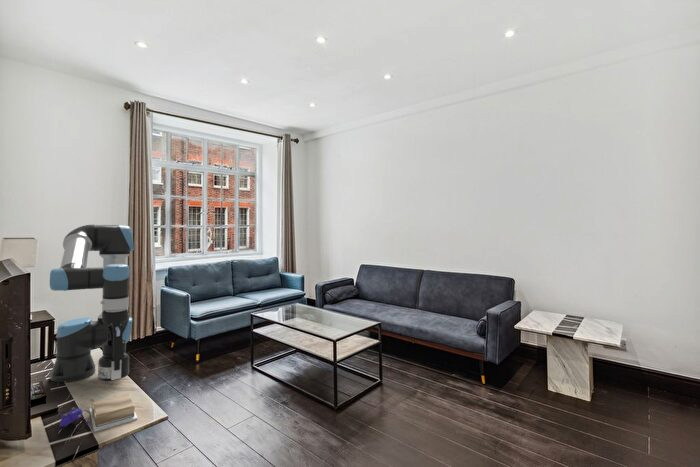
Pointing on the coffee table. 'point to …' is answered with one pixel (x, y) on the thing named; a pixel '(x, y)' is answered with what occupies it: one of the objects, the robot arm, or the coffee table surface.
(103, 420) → the oak plinth
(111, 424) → the grey thin flat slab
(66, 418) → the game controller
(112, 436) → the coffee table surface
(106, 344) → the ink bottle
